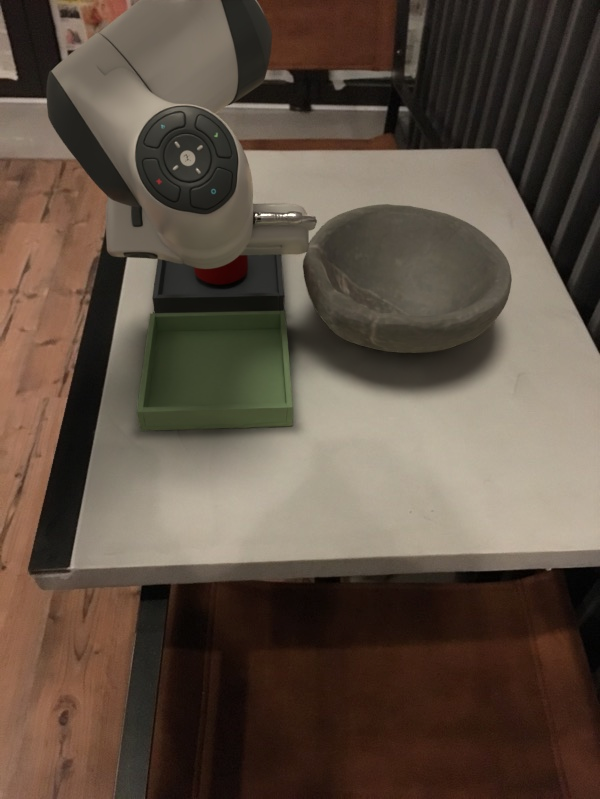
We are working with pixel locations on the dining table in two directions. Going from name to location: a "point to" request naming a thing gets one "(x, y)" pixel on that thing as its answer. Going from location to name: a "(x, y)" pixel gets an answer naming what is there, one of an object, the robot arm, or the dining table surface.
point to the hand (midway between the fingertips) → (213, 248)
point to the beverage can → (225, 272)
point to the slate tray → (219, 288)
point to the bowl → (405, 278)
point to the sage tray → (215, 371)
